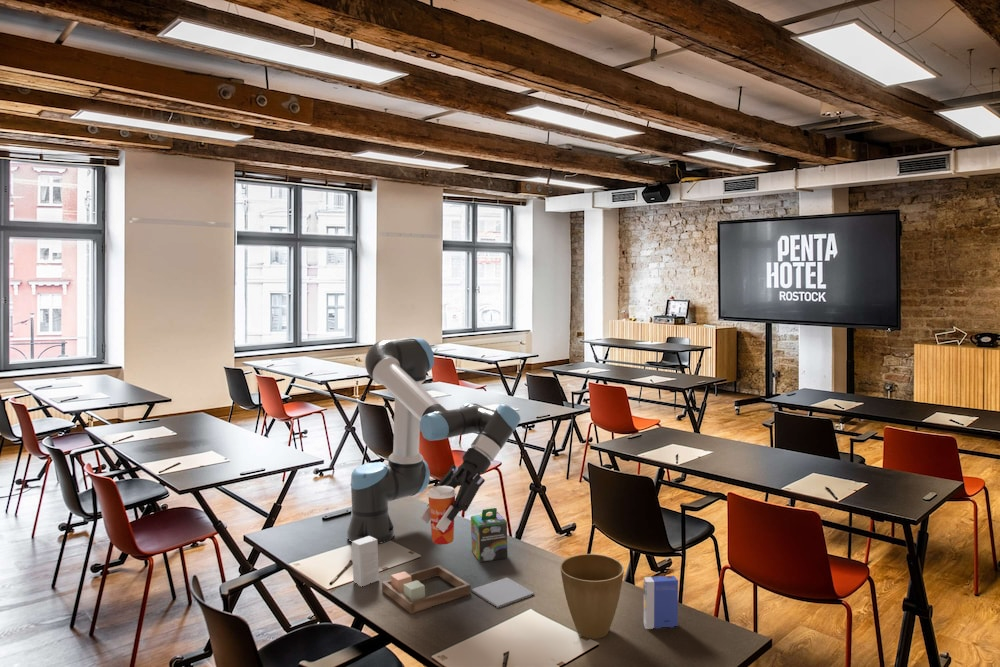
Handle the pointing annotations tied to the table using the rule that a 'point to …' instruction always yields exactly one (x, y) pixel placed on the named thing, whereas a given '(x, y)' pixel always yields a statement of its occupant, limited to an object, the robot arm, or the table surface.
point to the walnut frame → (432, 600)
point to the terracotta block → (400, 581)
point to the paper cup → (441, 512)
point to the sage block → (414, 590)
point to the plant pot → (592, 592)
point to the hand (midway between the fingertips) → (431, 524)
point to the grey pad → (502, 592)
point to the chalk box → (489, 535)
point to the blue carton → (660, 601)
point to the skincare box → (365, 561)
